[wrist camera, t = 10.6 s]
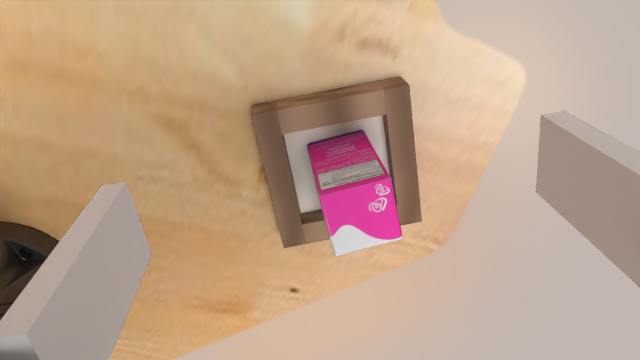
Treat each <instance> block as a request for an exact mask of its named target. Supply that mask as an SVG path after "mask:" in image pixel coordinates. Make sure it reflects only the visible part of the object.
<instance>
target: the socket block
mask: <svg viewBox="0 0 640 360" xmlns="http://www.w3.org/2000/svg"><path fill="white" fill-rule="evenodd" d="M251 116H252V120H253V124H254V128H255V132H256V136H257V141H258V145H259V149H260V153H261V157H262V161H263V165H264V169H265V173H266V177H267V181H268V185H269V189H270V193H271V197H272V201H273V205H274V210H275V214H276V218H277V222H278V226H279V230H280V234H281V238H282V242H283V246H284V248H287V247H292V246H297V245H302V244H307V243H312V242H318V241H323V240H328V239H330V238H329V234H328V231H327V227H326V223H325V220H324V216H323V212H322V209H321V205H320V200H319V196H318V192H317V187H316V183H315V179H314V175H313V171H312V166H311V162H310V157H309V153H308V148H307V144H309V143H313V142H317V141H321V140H324V139H328V138H332V137H336V136H340V135H344V134H348V133H352V132H356V131H360V130H364V132H365V134H366V136H367V137H368V139H369V141H370V142H371V144H372V146H373V148H374V149H375V151H376V153H377V155H378V156H379V158H380V160H381V162H382V163H383V165H384V167H385V168H386V170H387V172H388V174H389V175H390V177H391V180H392V186H393V191H394V196H395V201H396V206H397V211H398V216H399V221H400V226H401V225H406V224H411V223H416V222H421V221H422V218H421V207H420V197H419V186H418V175H417V164H416V154H415V143H414V132H413V122H412V111H411V100H410V89H409V85H408V84H407V83H406V82H405V81H404V80H403V79H402V78H401V77H396V78H391V79H386V80H381V81H375V82H370V83H365V84H360V85H355V86H350V87H344V88H339V89H334V90H329V91H324V92H318V93H313V94H308V95H303V96H298V97H293V98H287V99H282V100H277V101H272V102H267V103H261V104H256V105H253V108H252V115H251Z"/></svg>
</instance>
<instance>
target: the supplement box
mask: <svg viewBox="0 0 640 360" xmlns="http://www.w3.org/2000/svg"><path fill="white" fill-rule="evenodd" d="M307 148H308V153H309V157H310V162H311V166H312V171H313V175H314V179H315V183H316V187H317V192H318V196H319V200H320V205H321V209H322V212H323V216H324V220H325V223H326V227H327V231H328V234H329V238H330V241H331V244H332V248H333V251H334V255H335V256H340V255H343V254H347V253H350V252H354V251H357V250H361V249H365V248H368V247H372V246H376V245H380V244H384V243H388V242H392V241H396V240H400V239H402V231H401V226H400V221H399V216H398V211H397V206H396V201H395V196H394V191H393V186H392V180H391V177H390V175H389V174H388V172H387V170H386V168H385V167H384V165H383V163H382V162H381V160H380V158H379V156H378V155H377V153H376V151H375V149H374V148H373V146H372V144H371V142H370V141H369V139H368V137H367V136H366V134H365V132H364V130H360V131H356V132H352V133H348V134H344V135H340V136H336V137H332V138H328V139H324V140H321V141H317V142H313V143H309V144H307Z"/></svg>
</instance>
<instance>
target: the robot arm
mask: <svg viewBox="0 0 640 360" xmlns="http://www.w3.org/2000/svg"><path fill="white" fill-rule="evenodd" d="M539 137H540V138H539V152H538V168H537V183H536V192H537V193H538V194H539V195H540V196H541V197H542V198H543V199H544V200H546V202H547V203H548V204H550V205H551V206H552V207H553V208H554V209H555V210H556V211H557V212H558V213H559V214H560V215H561V216H563V217H564V218H565V219H566V220H567V221H568V222H569V223H570V224H571V225H572V226H573V227H575V228H576V229H577V230H578V231H579V232H580V233H581V234H582V235H583V236H584V237H586V238H587V239H588V240H589V241H590V242H591V243H592V244H593V245H594V246H595V247H596V248H597V249H599V250H600V251H601V252H602V253H603V254H604V255H605V256H606V257H607V258H608V259H609V260H611V261H612V262H613V263H614V264H615V265H616V266H617V267H618V268H619V269H620V270H621V271H622V272H624V273H625V274H626V275H627V276H628V277H629V278H630V279H631V280H632V281H634V282H635V283H636V284H637V285H638V286H639V287H640V152H639V151H637V150H635V149H633V148H632V147H630V146H628V145H626V144H624V143H622V142H621V141H619V140H617V139H615V138H613V137H611V136H609V135H608V134H606V133H604V132H602V131H600V130H599V129H596V128H595V127H593V126H591V125H589V124H588V123H586V122H584V121H582V120H580V119H578V118H576V117H575V116H573V115H571V114H569V113H567V112H566V111H562V112H555V113H549V114H543V115H541V123H540V136H539ZM151 256H152V253H151V250H150V248H149V245H148V242H147V239H146V236H145V233H144V230H143V228H142V225H141V222H140V219H139V216H138V213H137V210H136V208H135V205H134V202H133V199H132V196H131V193H130V190H129V188H128V185H127V182H120V183H114V184H107V185H102V186H101V187H100V188H99V190H98V191H97V192H96V194H95V195H94V196H93V198H92V199H91V200H90V202H89V203H88V204H87V206H86V207H85V208H84V210H83V211H82V212H81V214H80V215H79V216H78V218H77V219H76V220H75V222H74V223H73V224H72V226H71V227H70V228H69V230H68V231H67V232H66V234H65V235H64V236H63V238H62V239H61V240H60V242H57V241H56V240H55V239H53V238H51V237H50V236H48V235H46V234H44V233H42V232H40V231H37V230H35V229H32V228H29V227H26V226H22V225H17V224H12V223H3V222H0V360H109V358H110V355H111V353H112V350H113V348H114V346H115V343H116V341H117V338H118V336H119V333H120V331H121V329H122V326H123V324H124V321H125V319H126V316H127V314H128V312H129V309H130V307H131V304H132V302H133V300H134V297H135V295H136V292H137V290H138V287H139V285H140V283H141V280H142V278H143V275H144V273H145V270H146V268H147V266H148V263H149V261H150V258H151Z"/></svg>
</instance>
